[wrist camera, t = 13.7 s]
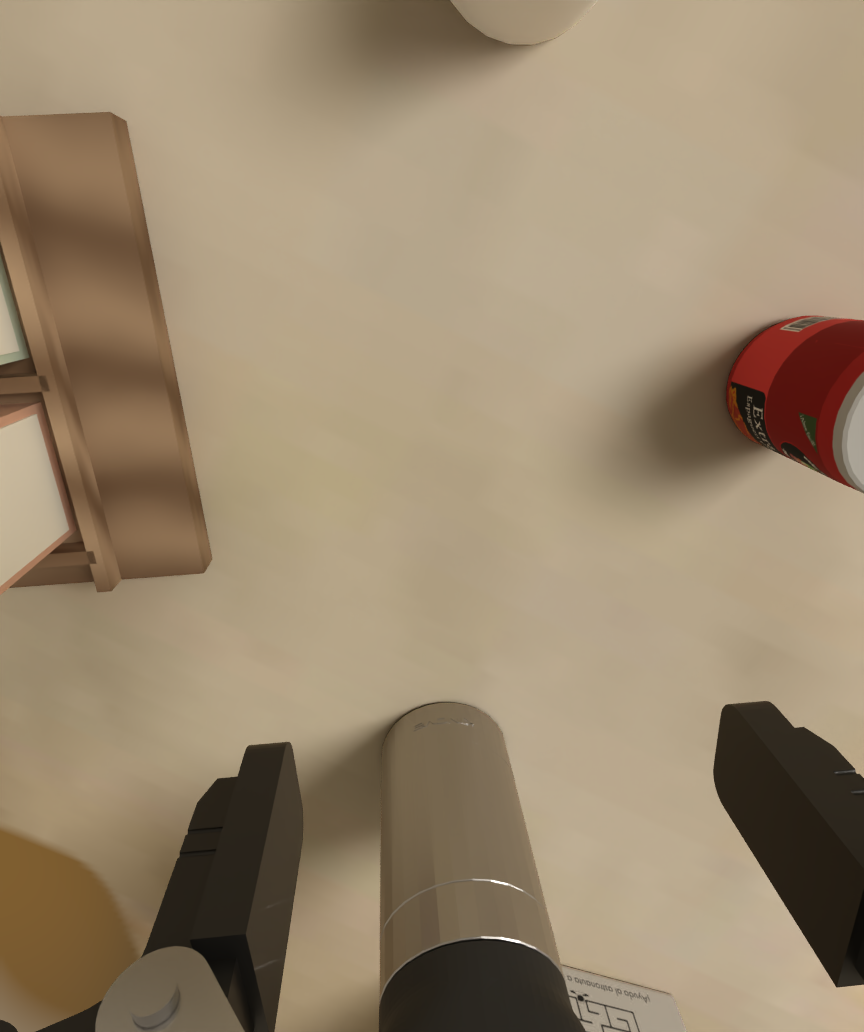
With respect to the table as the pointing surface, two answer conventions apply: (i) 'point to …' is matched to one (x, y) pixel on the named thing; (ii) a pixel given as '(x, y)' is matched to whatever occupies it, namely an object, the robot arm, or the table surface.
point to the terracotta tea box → (29, 492)
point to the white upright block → (523, 18)
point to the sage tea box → (9, 325)
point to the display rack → (96, 351)
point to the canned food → (805, 394)
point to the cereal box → (620, 1005)
